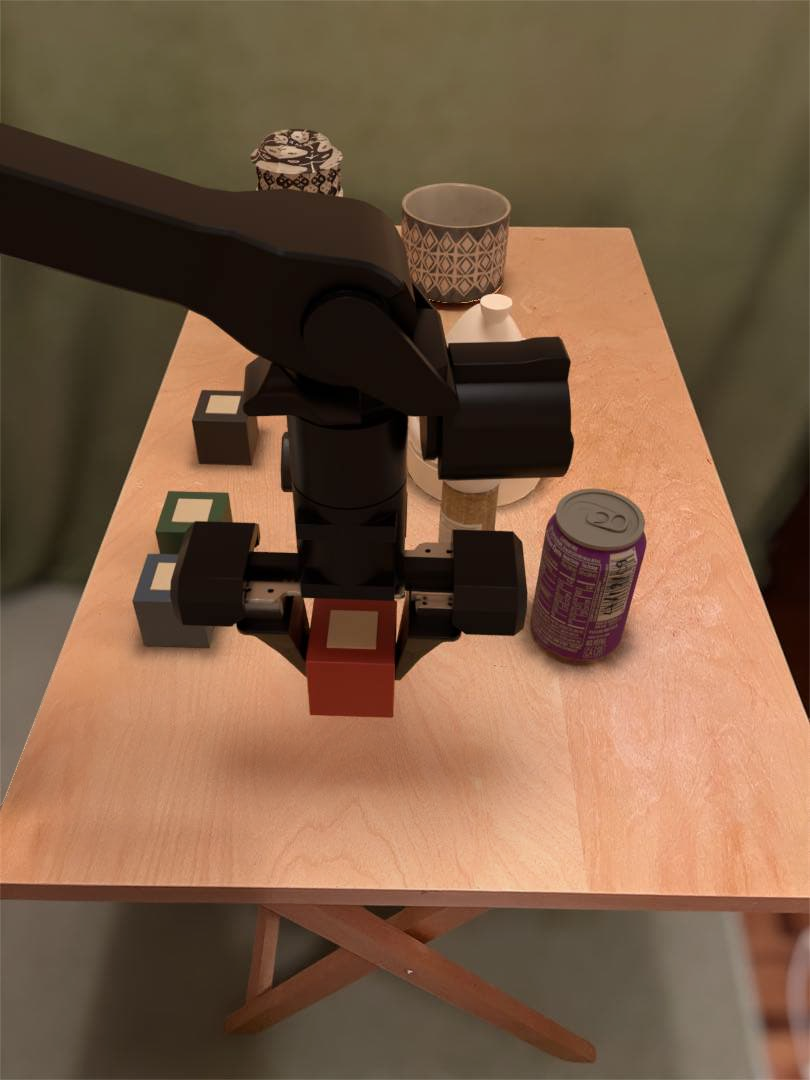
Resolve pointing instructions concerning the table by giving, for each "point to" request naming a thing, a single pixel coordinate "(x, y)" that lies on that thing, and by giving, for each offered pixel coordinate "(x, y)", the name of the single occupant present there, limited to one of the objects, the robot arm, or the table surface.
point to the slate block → (163, 608)
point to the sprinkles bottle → (467, 506)
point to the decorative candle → (298, 162)
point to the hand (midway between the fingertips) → (354, 673)
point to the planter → (456, 240)
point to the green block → (188, 516)
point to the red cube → (352, 658)
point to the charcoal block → (224, 429)
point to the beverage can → (588, 573)
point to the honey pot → (473, 326)
